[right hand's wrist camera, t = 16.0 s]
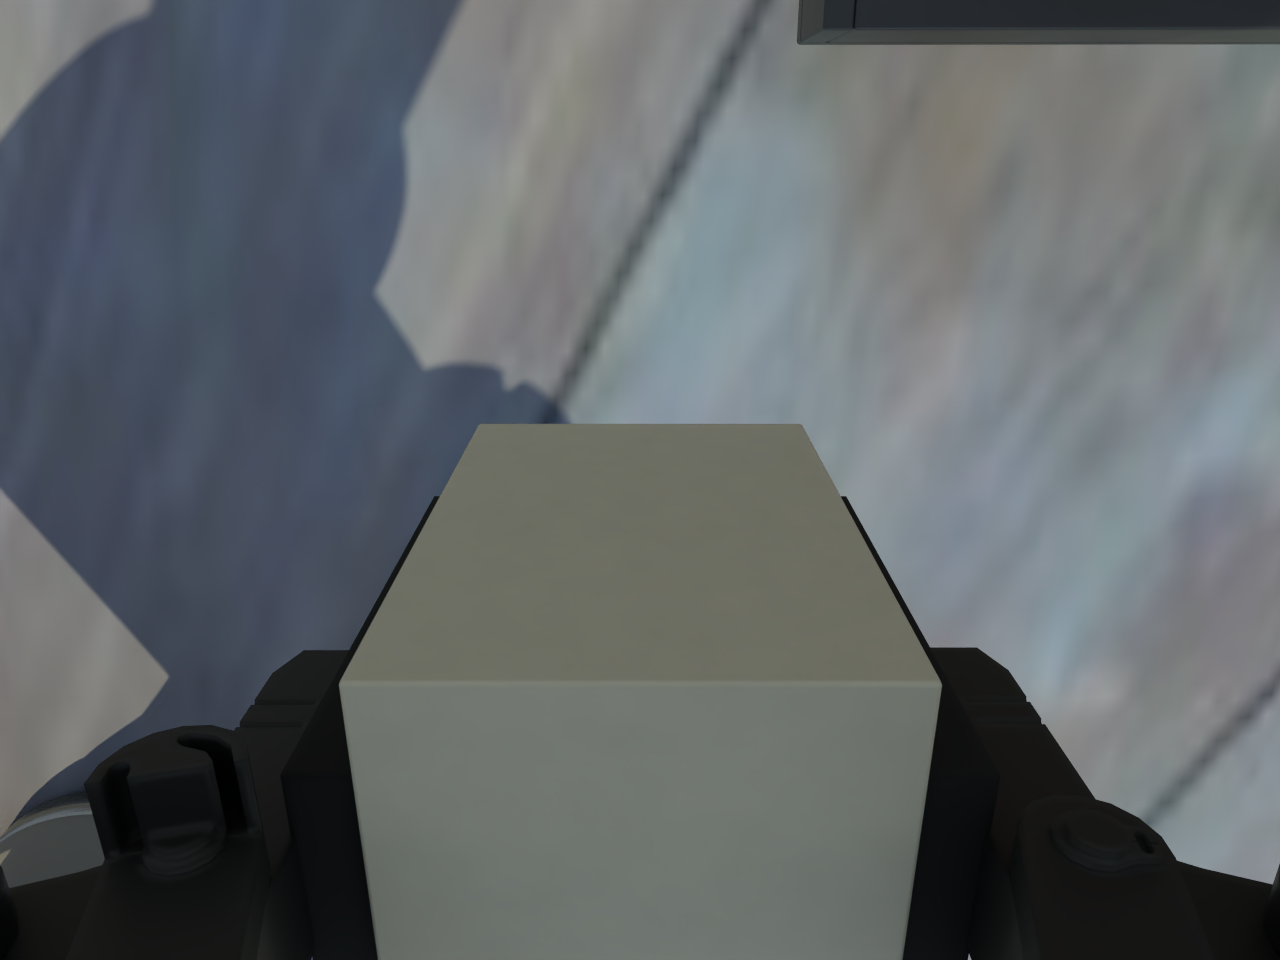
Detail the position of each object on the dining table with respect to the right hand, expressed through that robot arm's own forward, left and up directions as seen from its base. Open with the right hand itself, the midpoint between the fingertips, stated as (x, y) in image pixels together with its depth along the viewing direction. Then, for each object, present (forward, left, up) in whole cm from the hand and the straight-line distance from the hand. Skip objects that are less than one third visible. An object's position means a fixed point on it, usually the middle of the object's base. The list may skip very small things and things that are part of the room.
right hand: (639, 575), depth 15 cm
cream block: (0, 0, 0) cm, 0 cm away
